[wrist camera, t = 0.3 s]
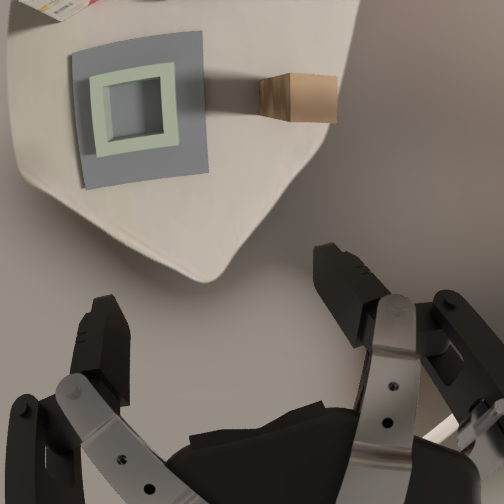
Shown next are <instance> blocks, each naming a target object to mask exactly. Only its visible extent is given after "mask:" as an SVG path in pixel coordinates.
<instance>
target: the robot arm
mask: <svg viewBox="0 0 504 504" xmlns="http://www.w3.org/2000/svg"><path fill="white" fill-rule="evenodd" d="M313 282H314V286H315V289H316V290H317V292H318V294H319V296H320V297H321V298H322V300H323V302H324V303H325V305H326V306H327V308H328V309H329V311H330V312H331V314H332V315H333V317H334V318H335V320H336V321H337V323H338V325H339V326H340V328H341V329H342V331H343V332H344V334H345V335H346V337H347V338H348V340H349V342H350V343H351V345H352V346H353V348H357V347H359V346H362V345H364V346H365V348H366V349H367V350H366V354H365V359H364V365H363V369H362V374H361V379H360V383H359V388H358V392H357V396H356V400H355V403H354V406H353V410H352V409H346V408H338V407H334V408H325V406H324V404H323V402H322V401H319V402H315V403H313V404H310V405H307V406H304V407H301V408H298V409H295V410H292V411H289V412H288V413H286V414H284V415H282V416H281V417H279V418H277V419H275V420H274V421H272V422H270V423H268V424H266V425H265V426H263V427H261V428H258V429H223V430H222V429H221V430H217V431H212V432H207V433H202V434H196V435H191V436H189V440H190V445H188V446H186V447H184V448H182V449H181V450H179V451H178V452H176V453H175V454H173V455H172V456H171V457H170V458H169V459H168V460H167V462H166V461H165V460H164V459H163V458H162V457H161V456H160V455H159V454H157V453H156V452H155V451H154V450H153V449H152V448H151V447H150V446H149V445H148V444H147V443H146V442H145V441H144V440H143V439H142V438H141V437H140V436H139V435H138V434H137V433H136V432H135V431H134V430H133V429H132V427H130V425H129V424H128V423H127V422H126V421H125V420H124V419H123V418H122V417H121V416H120V407H123V406H129V405H130V387H129V386H130V339H131V335H130V329H129V326H128V323H127V321H126V319H125V317H124V315H123V313H122V311H121V309H120V307H119V305H118V303H117V301H116V299H115V297H114V296H113V295H112V294H111V295H106V296H102V297H97V298H94V300H93V304H92V309H91V312H90V313H86V314H85V315H84V317H83V319H82V320H81V322H80V323H79V327H78V332H77V335H78V336H77V337H76V344H75V347H74V352H73V357H72V363H71V369H70V375H68V376H66V377H64V378H63V379H62V380H61V381H60V383H59V384H58V386H57V388H56V393H55V394H54V395H52V396H49V397H47V398H45V399H42V400H40V401H38V400H37V399H36V398H35V397H34V396H32V395H30V394H24V395H22V396H20V397H18V398H17V399H16V401H15V402H14V403H13V405H12V408H11V412H10V419H9V427H8V436H7V446H6V463H5V504H85V499H84V490H83V480H82V467H81V447H82V448H83V450H84V451H85V453H86V454H87V456H88V457H89V458H90V460H91V461H92V462H93V464H94V465H95V466H96V468H97V469H98V470H99V471H100V473H101V474H102V475H103V476H104V478H105V479H106V480H107V481H108V482H109V484H110V485H111V486H112V487H113V488H114V490H115V491H116V492H117V493H118V494H119V495H120V497H121V498H122V499H123V500H124V501H125V502H126V503H127V504H481V482H482V481H484V480H485V479H486V478H488V477H489V476H490V475H491V474H493V473H494V472H495V471H496V470H497V469H499V468H500V467H501V466H502V465H503V464H504V344H503V343H502V342H501V341H500V339H499V338H498V337H497V336H496V334H495V333H494V332H493V331H492V330H491V328H490V327H489V326H488V325H487V324H486V323H485V321H484V320H483V319H482V318H481V317H480V316H479V314H478V313H477V312H476V311H475V310H474V309H473V308H472V306H471V305H469V303H468V302H467V301H466V300H465V299H464V298H463V297H462V296H461V295H460V294H459V293H457V292H455V291H452V290H441V291H439V292H437V293H436V294H435V296H434V299H433V302H428V303H417V304H414V303H413V302H412V301H411V300H409V298H407V297H405V296H403V295H399V294H391V293H390V292H389V290H388V289H387V288H386V287H385V286H384V285H383V284H382V283H381V282H380V280H379V279H377V277H376V276H375V275H374V274H373V273H371V271H370V270H369V269H368V267H367V266H365V264H364V263H363V262H362V261H361V260H360V259H359V258H358V257H357V256H355V255H353V254H351V253H349V252H347V251H346V252H342V251H341V250H340V249H339V248H338V247H337V246H336V245H335V244H334V243H332V242H331V243H327V244H323V245H319V246H315V247H314V250H313ZM451 342H452V343H453V344H454V346H455V347H456V348H457V350H458V351H459V352H460V354H461V355H462V357H463V360H464V362H463V361H462V360H461V358H460V357H459V355H458V354H457V353H456V351H455V350H454V349H453V347H452V346H451V345H450V343H451ZM420 362H421V363H422V365H423V366H424V368H425V370H426V371H427V373H428V374H429V376H430V377H431V379H432V381H433V382H434V384H435V385H436V387H437V388H438V390H439V392H440V393H441V395H442V397H443V398H444V400H445V401H446V403H447V405H448V406H449V408H450V409H451V411H452V413H453V415H454V417H455V418H456V420H457V422H458V423H459V427H458V431H457V437H458V440H457V444H458V447H459V448H461V452H459V451H456V450H453V449H450V448H447V447H445V446H442V445H439V444H436V443H434V442H431V441H428V440H426V439H423V438H420V437H418V436H415V435H414V430H415V422H416V414H417V405H418V393H419V379H420ZM45 447H46V468H45Z"/></svg>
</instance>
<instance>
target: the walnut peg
mask: <svg viewBox="0 0 504 504" xmlns="http://www.w3.org/2000/svg"><path fill="white" fill-rule="evenodd" d="M259 93H260V116H265V117H270V118H275V119H279V120H284V121H288V122H317V123H337V77H336V76H326V75H315V74H301V73H288V74H284V75H280V76H276V77H272V78H268V79H265V80H261V81H259Z"/></svg>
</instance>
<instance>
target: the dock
mask: <svg viewBox="0 0 504 504" xmlns="http://www.w3.org/2000/svg"><path fill="white" fill-rule="evenodd" d="M72 77H73V95H74V108H75V119H76V129H77V137H78V145H79V152H80V159H81V165H82V171H83V177H84V183H85V188H86V190H89V189H95V188H101V187H106V186H112V185H118V184H125V183H131V182H138V181H145V180H152V179H160V178H167V177H176V176H184V175H193V174H203V173H209V167H208V152H207V136H206V118H205V97H204V72H203V39H202V31H192V32H180V33H171V34H163V35H155V36H148V37H142V38H136V39H130V40H125V41H120V42H115V43H111V44H106V45H102V46H98V47H94V48H90V49H86V50H82V51H79V52H75V53H72Z"/></svg>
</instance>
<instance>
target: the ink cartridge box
mask: <svg viewBox="0 0 504 504" xmlns="http://www.w3.org/2000/svg"><path fill="white" fill-rule="evenodd" d="M18 1H19V2H21V3H23V4H25V5H28V6H30V7H32V8H34V9H36V10H38V11H40V12H42V13H44V14H46V15H48V16H50V17H52V18H54V19H56V20H58V21H60V22H62V21H64V20H65V19H67V18H68V17H70V16H72V15H73V14H75V13H77V12H78V11H80V10H82V9H83V8H85V7H87V6H88V5H90V4H92V3H94V2H96V1H98V0H18Z"/></svg>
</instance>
